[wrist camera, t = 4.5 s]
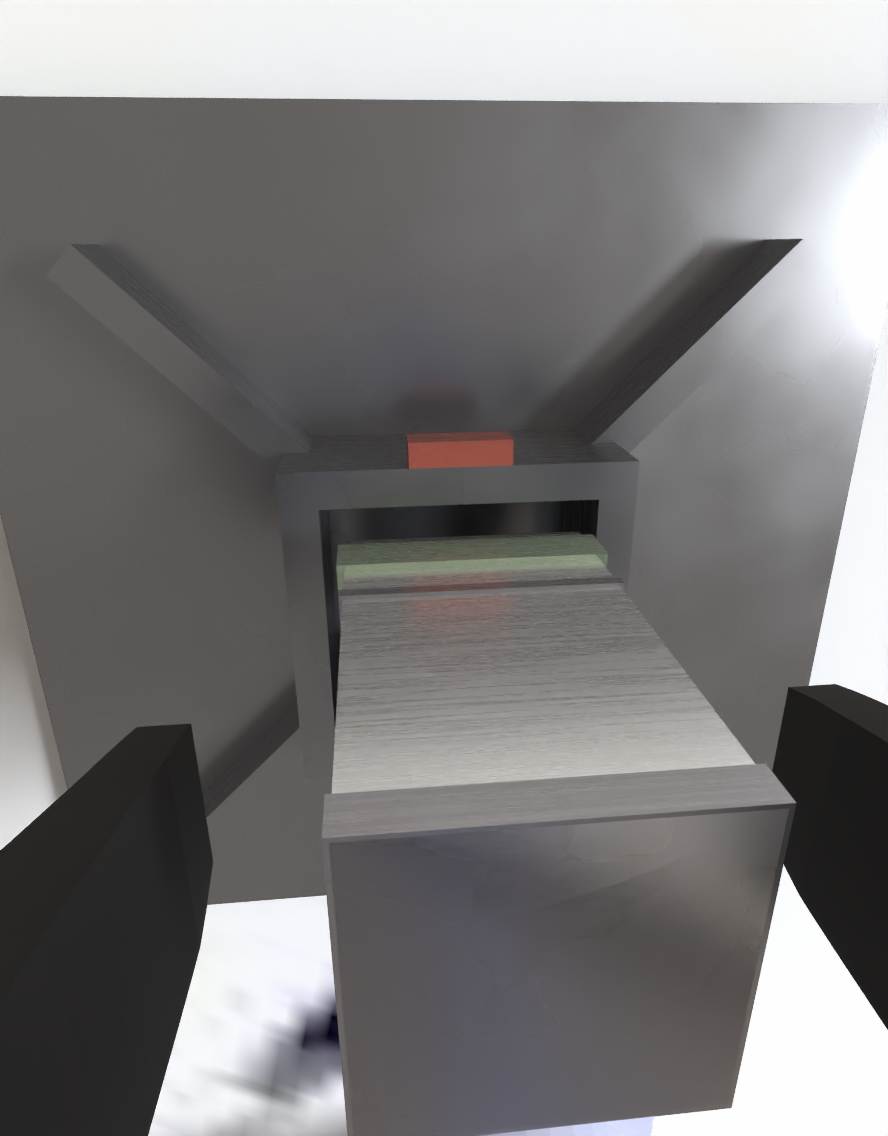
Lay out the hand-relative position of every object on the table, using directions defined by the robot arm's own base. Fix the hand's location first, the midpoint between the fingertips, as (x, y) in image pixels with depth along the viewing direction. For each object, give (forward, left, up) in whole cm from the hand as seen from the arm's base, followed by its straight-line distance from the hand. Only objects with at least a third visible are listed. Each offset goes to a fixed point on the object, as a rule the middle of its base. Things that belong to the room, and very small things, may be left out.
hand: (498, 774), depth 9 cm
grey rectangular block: (0, 0, -4) cm, 4 cm away
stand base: (0, 0, -7) cm, 7 cm away
